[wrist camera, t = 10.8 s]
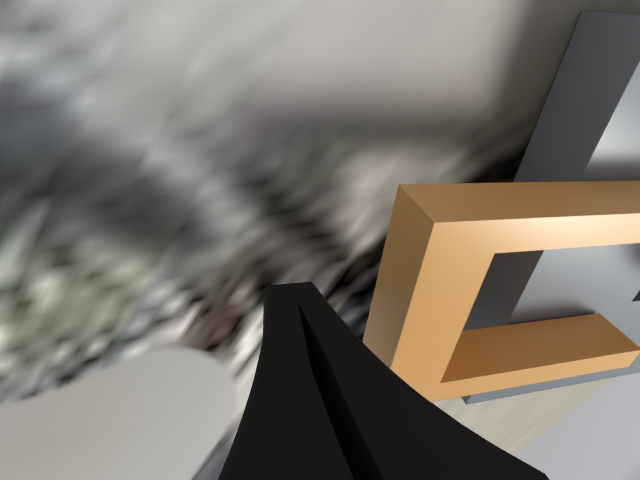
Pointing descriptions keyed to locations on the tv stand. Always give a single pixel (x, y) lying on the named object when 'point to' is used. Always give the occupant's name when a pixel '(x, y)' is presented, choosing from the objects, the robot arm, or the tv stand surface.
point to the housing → (577, 165)
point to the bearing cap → (469, 272)
